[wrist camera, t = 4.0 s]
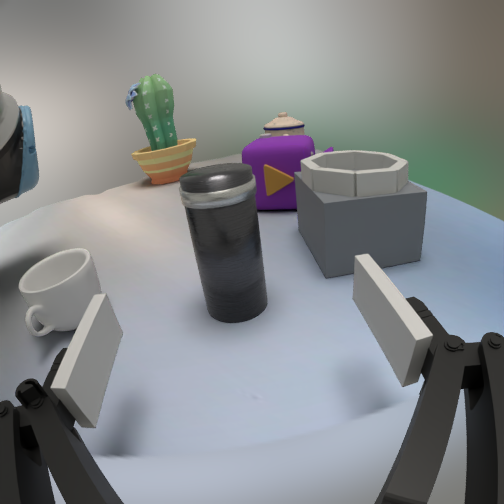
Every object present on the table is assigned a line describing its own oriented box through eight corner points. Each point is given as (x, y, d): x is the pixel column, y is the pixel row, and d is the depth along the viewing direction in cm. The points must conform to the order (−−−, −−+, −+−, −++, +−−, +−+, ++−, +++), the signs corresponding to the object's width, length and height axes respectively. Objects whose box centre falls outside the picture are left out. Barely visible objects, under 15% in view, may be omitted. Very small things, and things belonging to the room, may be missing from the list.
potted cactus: (153, 174, 80) (137, 83, 69) (209, 166, 78) (194, 69, 66) (127, 192, 67) (105, 84, 55) (191, 183, 64) (171, 65, 53)
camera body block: (325, 278, 28) (322, 179, 24) (298, 229, 38) (292, 154, 34) (420, 260, 28) (428, 170, 24) (375, 218, 38) (375, 148, 34)
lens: (205, 327, 24) (172, 188, 19) (206, 290, 29) (181, 170, 24) (273, 318, 24) (258, 175, 19) (264, 281, 29) (250, 159, 24)
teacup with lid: (267, 160, 75) (262, 113, 70) (305, 157, 75) (300, 110, 69) (267, 172, 65) (261, 116, 59) (312, 168, 64) (307, 112, 59)
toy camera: (348, 210, 42) (345, 136, 37) (247, 218, 43) (237, 145, 39) (334, 187, 51) (330, 127, 47) (252, 194, 53) (244, 134, 48)
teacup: (63, 295, 31) (45, 252, 28) (120, 292, 30) (103, 244, 28) (19, 356, 22) (-9, 308, 20) (81, 362, 21) (51, 308, 19)
